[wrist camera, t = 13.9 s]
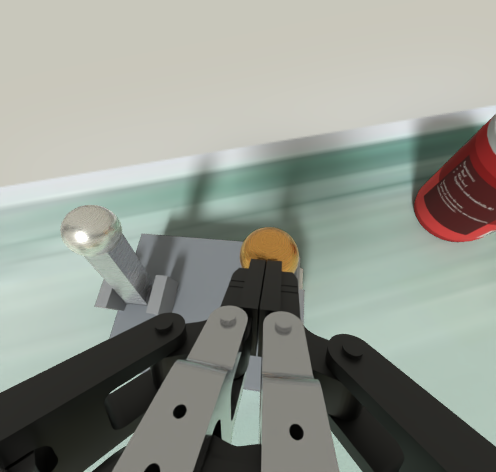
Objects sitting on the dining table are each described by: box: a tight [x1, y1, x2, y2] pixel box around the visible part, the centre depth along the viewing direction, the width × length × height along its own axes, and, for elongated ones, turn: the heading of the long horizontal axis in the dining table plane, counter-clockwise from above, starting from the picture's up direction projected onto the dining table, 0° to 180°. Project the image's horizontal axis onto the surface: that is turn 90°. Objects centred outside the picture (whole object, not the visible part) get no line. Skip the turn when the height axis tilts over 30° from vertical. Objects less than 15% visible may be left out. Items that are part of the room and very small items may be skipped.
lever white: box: [60, 205, 154, 306], centre depth 18 cm, size 3×3×10 cm
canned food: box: [414, 114, 496, 242], centre depth 21 cm, size 8×8×11 cm
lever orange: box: [240, 227, 299, 274], centre depth 16 cm, size 3×3×10 cm
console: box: [94, 234, 304, 392], centre depth 22 cm, size 17×12×7 cm
